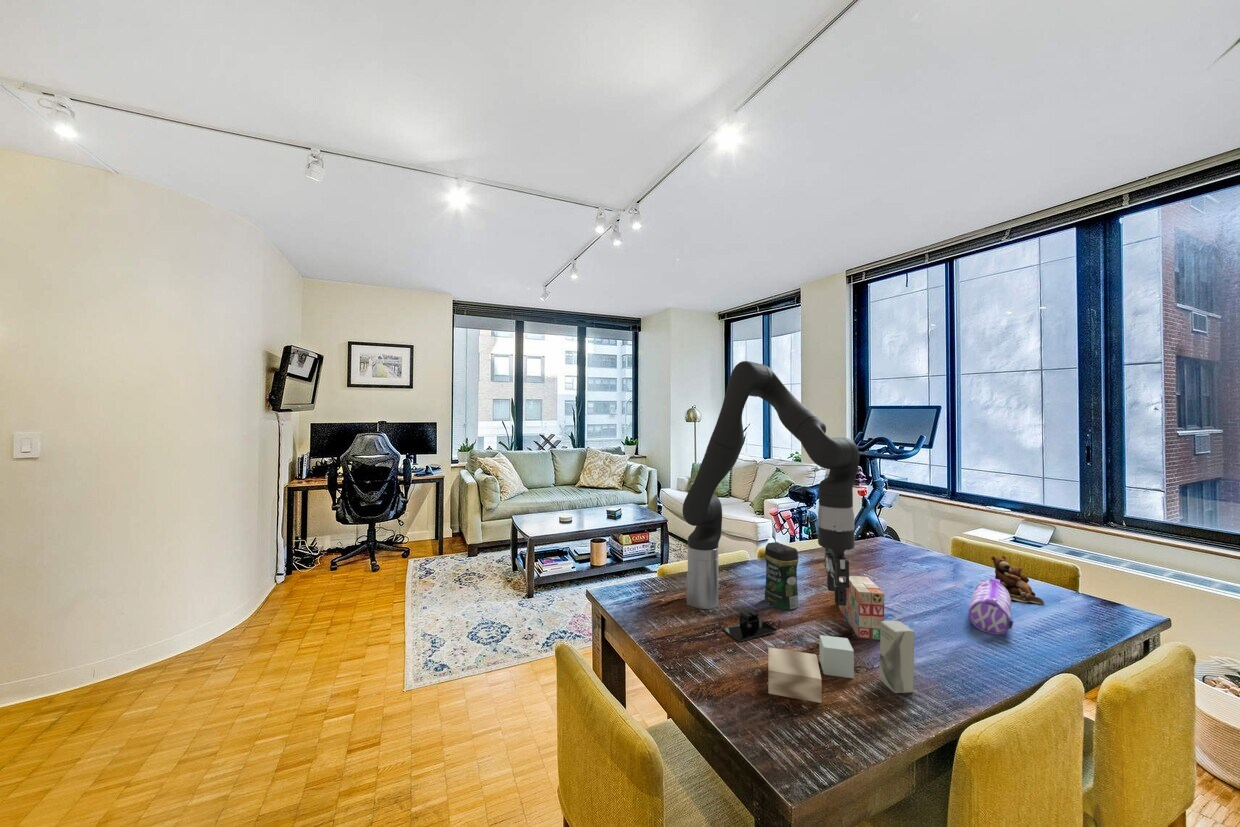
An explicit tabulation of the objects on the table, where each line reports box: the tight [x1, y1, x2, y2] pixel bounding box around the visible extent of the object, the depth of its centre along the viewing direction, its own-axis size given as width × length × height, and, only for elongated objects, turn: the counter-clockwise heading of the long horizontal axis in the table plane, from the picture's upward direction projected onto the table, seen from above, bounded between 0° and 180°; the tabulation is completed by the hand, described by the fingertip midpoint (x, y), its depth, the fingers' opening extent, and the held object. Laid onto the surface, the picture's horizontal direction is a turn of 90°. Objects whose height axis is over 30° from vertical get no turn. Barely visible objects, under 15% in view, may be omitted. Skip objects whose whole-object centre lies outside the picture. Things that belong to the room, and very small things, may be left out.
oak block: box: [767, 646, 823, 704], centre depth 96 cm, size 10×10×5 cm
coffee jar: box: [764, 541, 799, 611], centre depth 137 cm, size 10×8×19 cm
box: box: [879, 620, 915, 694], centre depth 95 cm, size 5×4×13 cm
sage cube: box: [819, 634, 855, 679], centre depth 102 cm, size 6×6×6 cm
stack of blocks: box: [837, 575, 885, 641], centre depth 127 cm, size 21×6×12 cm, turn 169°
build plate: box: [722, 609, 778, 642], centre depth 120 cm, size 12×7×5 cm, turn 114°
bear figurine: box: [990, 555, 1046, 606], centre depth 147 cm, size 14×15×12 cm
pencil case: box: [968, 577, 1014, 635], centre depth 127 cm, size 22×9×10 cm, turn 140°
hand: (836, 597), depth 102 cm, fingers open, 8 cm apart
